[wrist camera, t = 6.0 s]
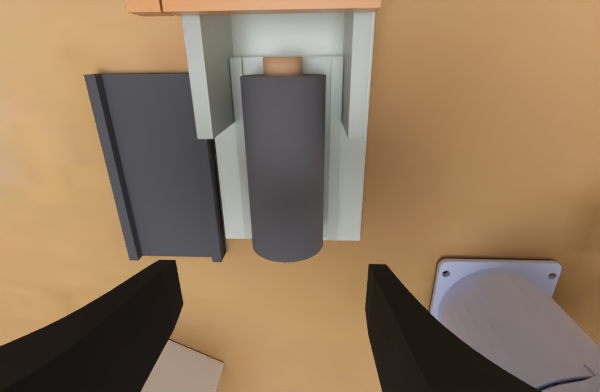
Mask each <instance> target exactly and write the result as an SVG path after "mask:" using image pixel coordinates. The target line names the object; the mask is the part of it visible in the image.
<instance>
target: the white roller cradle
mask: <svg viewBox="0 0 600 392" xmlns="http://www.w3.org/2000/svg"><path fill="white" fill-rule="evenodd" d="M181 17H182V24H183V32H184V40H185V47H186V55H187V62H188V70H189V77H190V85H191V93H192V100H193V108H194V115H195V123H196V131H197V138H198V139H214V138H215V145H216V154H217V163H218V172H219V181H220V190H221V199H222V208H223V217H224V226H225V235H226V238H229V239H252V229H251V216H250V202H249V189H248V176H247V163H246V150H245V137H244V124H243V111H242V98H241V84H240V76H242V75H253V74H264V69H263V57H302V73H306V74H324V75H326V102H325V156H324V210H323V240H349V241H360V229H361V215H362V200H363V185H364V170H365V156H366V141H367V126H368V111H369V97H370V82H371V67H372V52H373V38H374V23H375V12H350V13H295V14H241V15H186V16H181Z"/></svg>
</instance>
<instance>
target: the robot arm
mask: <svg viewBox="0 0 600 392" xmlns="http://www.w3.org/2000/svg"><path fill="white" fill-rule="evenodd" d="M561 270H562V266H561V265H560V264H559V263H558V262H556V261H543V260H491V259H443V260H441V261H440V262H439V263H438V267H437V273H436V279H435V284H434V290H433V295H432V301H431V307H430V312H428V311H427V310H426V309H425V308H424V307H423V306H422V305H421V304H420V302H419V301H418V300H417V299H416V298H415V297H414V296H413V295H412V294H411V293H410V292H409V291H408V290H407V288H406V287H405V286H404V285H403V284H402V283H401V281H400V280H399V279H398V278H397V277H396V276H395V274H394V273H393V272H392V271H391V270H390V268H389V267H388V266H387V265H386V264H369V269H368V281H367V293H366V305H365V311H366V320H367V328H368V335H369V339H370V344H371V348H372V352H373V356H374V360H375V364H376V368H377V372H378V376H379V380H380V384H381V388H382V392H600V347H599V346H598V345H597V344H596V343H595V342H594V341H593V340H592V339H591V338H590V337H589V336H588V335H587V334H586V333H585V332H584V331H583V330H582V329H581V328H580V327H579V326H578V325H577V324H576V322H575V321H574V320H573V319H572V318H571V317H570V316H569V315H568V314H567V313H566V312H565V311H564V310H563V309H562V308H561V307H560V306H559V305H558V304H557V303H556V302H555V301H554V300H553V299H552V296H553V293H554V290H555V287H556V284H557V282H558V279H559V276H560V273H561ZM444 271H447V273H444V274H443V272H444ZM551 273H552V274H551ZM549 274H551V275H550V276H549ZM182 306H183V299H182V294H181V288H180V283H179V277H178V272H177V266H176V261H175V260H158V261H157V262H155V263H153V264H151V265H150V266H148V267H147V268H145V269H143V270H142V271H140V272H139V273H137V274H136V275H134V276H133V277H131V278H129V279H128V280H126V281H125V282H123V283H122V284H120V285H119V286H117V287H115V288H114V289H112V290H111V291H109V292H107V293H106V294H104V295H102V296H101V297H99V298H97V299H96V300H94V301H92V302H91V303H89V304H87V305H86V306H84V307H82V308H80V309H79V310H77V311H75V312H73V313H71V314H69V315H67V316H66V317H64V318H62V319H60V320H58V321H56V322H54V323H52V324H50V325H48V326H45V327H43V328H41V329H39V330H37V331H34V332H32V333H30V334H28V335H25V336H23V337H21V338H18V339H16V340H14V341H12V342H9V343H7V344H5V345H2V346H0V392H141V390H142V388H143V386H144V384H145V383H146V381H147V379H148V377H149V375H150V373H151V371H152V370H153V368H154V366H155V364H156V362H157V360H158V358H159V357H160V355H161V353H162V351H163V349H164V347H165V345H166V343H167V342H168V340H169V338H170V336H171V334H172V332H173V330H174V328H175V325H176V323H177V320H178V318H179V315H180V312H181V309H182Z"/></svg>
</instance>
